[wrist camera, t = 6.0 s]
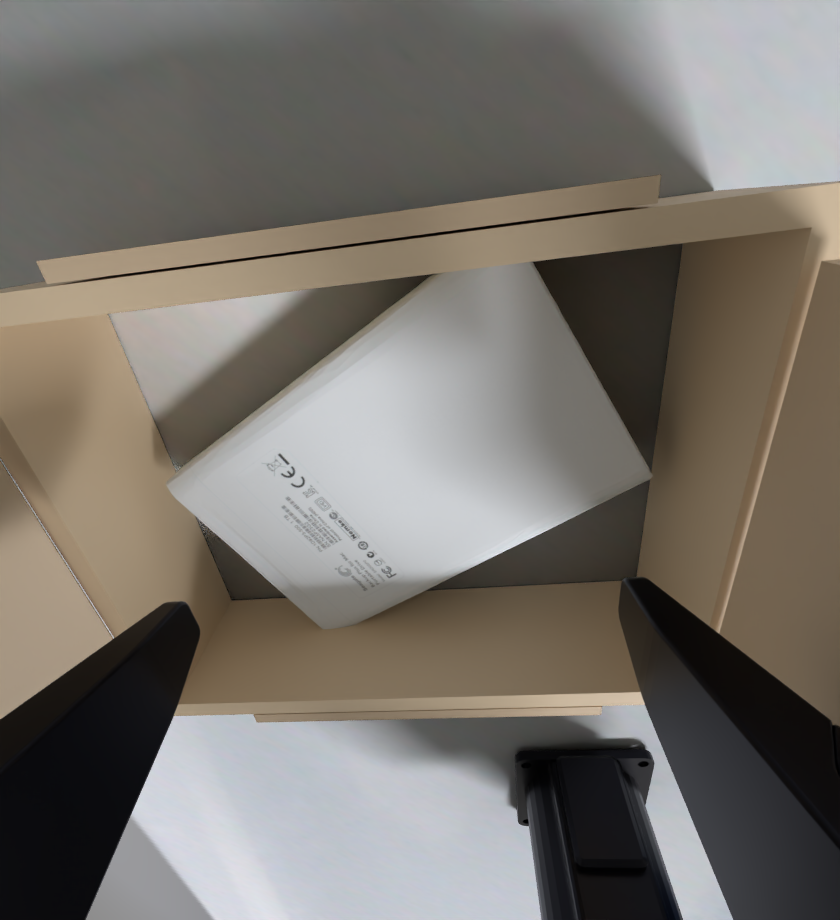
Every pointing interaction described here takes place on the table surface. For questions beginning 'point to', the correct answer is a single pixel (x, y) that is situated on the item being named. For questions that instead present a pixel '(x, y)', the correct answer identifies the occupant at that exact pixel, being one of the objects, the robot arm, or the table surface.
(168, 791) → the table surface
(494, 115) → the table surface
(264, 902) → the table surface
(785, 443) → the flap
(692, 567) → the carton
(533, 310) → the external hard drive
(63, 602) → the flap
